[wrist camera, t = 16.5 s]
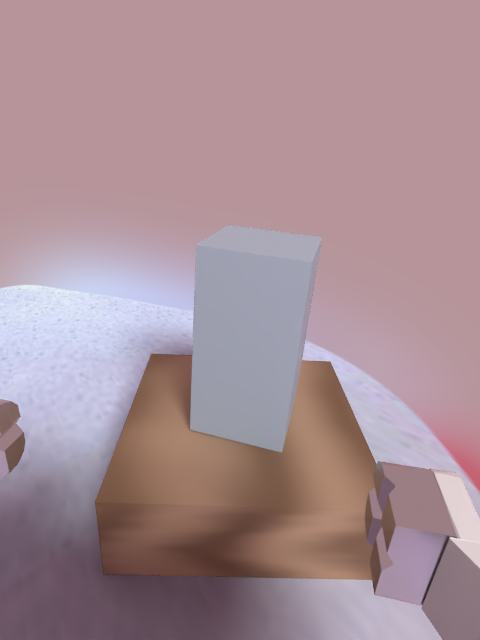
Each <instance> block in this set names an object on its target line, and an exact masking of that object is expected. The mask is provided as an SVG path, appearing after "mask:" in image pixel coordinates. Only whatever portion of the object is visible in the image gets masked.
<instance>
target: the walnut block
mask: <svg viewBox="0 0 480 640" xmlns="http://www.w3.org/2000/svg"><path fill="white" fill-rule="evenodd" d="M191 380H192V356H191V355H169V354H151V356H150V359H149V361H148V364H147V367H146V369H145V372H144V375H143V377H142V380H141V382H140V385H139V388H138V390H137V393H136V396H135V398H134V401H133V404H132V406H131V409H130V412H129V414H128V417H127V419H126V422H125V425H124V427H123V430H122V433H121V435H120V438H119V441H118V443H117V446H116V448H115V451H114V454H113V456H112V459H111V462H110V464H109V467H108V470H107V472H106V475H105V478H104V480H103V483H102V485H101V488H100V491H99V493H98V496H97V499H96V501H95V505H96V514H97V523H98V531H99V540H100V549H101V557H102V566H103V574H114V575H162V576H211V577H260V578H309V579H357V580H372V574H371V567H370V557H371V554H372V550H373V547H372V546H371V545H370V544H369V542H368V541H367V538H366V530H365V510H366V502H367V498H368V493H369V491H371V490H372V489H374V488H375V484H374V479H373V474H374V470H375V467H376V462H375V460H374V458H373V456H372V453H371V451H370V449H369V447H368V445H367V442H366V440H365V438H364V436H363V433H362V431H361V429H360V427H359V424H358V422H357V420H356V418H355V416H354V413H353V411H352V409H351V407H350V404H349V402H348V400H347V398H346V396H345V393H344V391H343V389H342V387H341V384H340V382H339V380H338V378H337V376H336V373H335V371H334V369H333V367H332V364H331V362H326V361H304V360H302V363H301V369H300V375H299V381H298V387H297V393H296V399H295V403H294V407H293V411H292V415H291V419H290V423H289V427H288V431H287V435H286V439H285V443H284V447H283V451H282V453H281V452H277V451H273V450H269V449H265V448H261V447H257V446H253V445H249V444H245V443H241V442H237V441H233V440H229V439H225V438H221V437H217V436H213V435H209V434H205V433H201V432H197V431H193V430H190V410H191Z"/></svg>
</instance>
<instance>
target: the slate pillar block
mask: <svg viewBox="0 0 480 640" xmlns="http://www.w3.org/2000/svg"><path fill="white" fill-rule="evenodd" d="M321 241H322V237H315V236H308V235H300V234H292V233H285V232H278V231H271V230H263V229H255V228H248V227H241V226H233V225H228V226H227V227H225V228H223V229H222V230H220V231H218V232H217V233H215V234H213V235H212V236H210V237H209V238H207V239H205V240H203V241H202V242H200V243H199V244H197V245H196V262H195V263H196V265H195V291H194V321H193V351H192V380H191V410H190V430H193V431H197V432H201V433H205V434H209V435H213V436H217V437H221V438H225V439H229V440H233V441H237V442H241V443H245V444H249V445H253V446H257V447H261V448H265V449H269V450H273V451H277V452H281V453H282V451H283V447H284V443H285V439H286V435H287V431H288V427H289V423H290V419H291V415H292V411H293V407H294V403H295V399H296V393H297V387H298V381H299V375H300V369H301V363H302V357H303V350H304V344H305V338H306V332H307V326H308V320H309V314H310V308H311V302H312V296H313V289H314V284H315V277H316V272H317V265H318V259H319V253H320V247H321Z"/></svg>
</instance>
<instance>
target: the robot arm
mask: <svg viewBox="0 0 480 640" xmlns="http://www.w3.org/2000/svg"><path fill="white" fill-rule="evenodd" d="M19 418H20V413H19V409H18V405H17V404H15V403H13V402H11V401H7V400H1V399H0V477H2V476H4V475H6V474H8V473H10V472H11V471H12V470H13V468H14V467H15V466H16V465H17V464H18V462H19V460H20V458H21V456H22V454H23V452H24V445H25V438H24V432H23V431H22V430H21V429H20V427H19V426H18V425H17V424H16V422H17V421H18V419H19ZM373 479H374V484H375V488H374V489H372V490H371V491H369V493H368V498H367V502H366V510H365V530H366V538H367V541H368V542H369V544H370V545H371V546H372V547H373V550H372V554H371V557H370V567H371V574H372V581H373V588H374V595H378V596H382V597H386V598H391V599H395V600H399V601H403V602H408V603H412V604H416V605H421V606H422V610H423V611H424V613H425V614H426V616H427V617H428V619H429V620H430V622H431V623H432V625H433V626H434V627H435V629H436V630H437V632H438V633H439V635H440V636H441V638H442V639H443V640H480V519H479V517H478V514H477V512H476V510H475V508H474V506H473V504H472V501H471V499H470V497H469V495H468V493H467V490H466V488H465V486H464V484H463V482H462V479H461V477H460V476H459V475H458V474H457V473H456V472H449V471H442V470H435V469H425V468H418V467H412V466H406V465H399V464H393V463H386V462H380V461H378V463H377V465H376V467H375V470H374V474H373Z"/></svg>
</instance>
